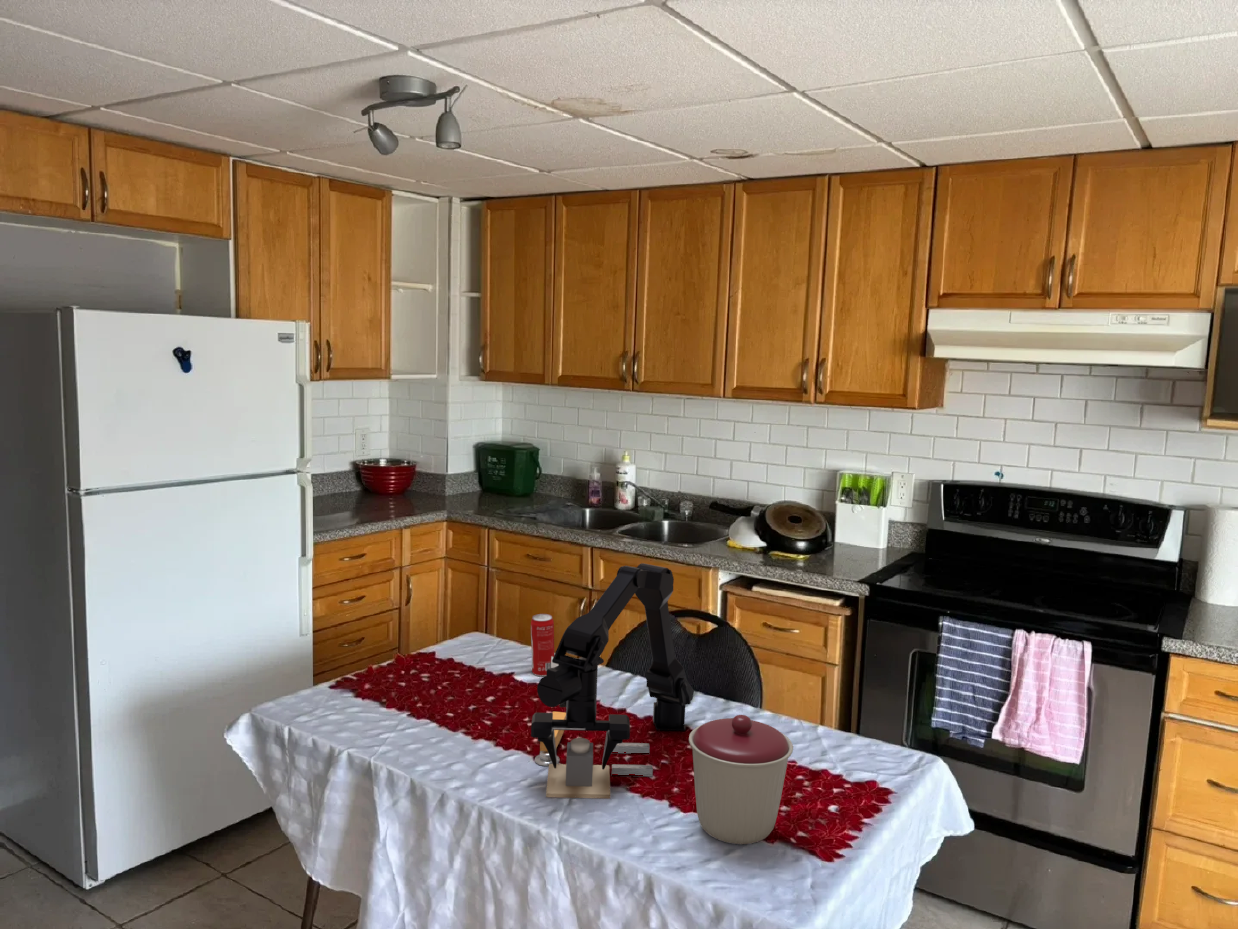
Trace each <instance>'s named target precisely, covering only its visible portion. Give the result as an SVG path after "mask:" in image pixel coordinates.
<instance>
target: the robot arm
mask: <svg viewBox="0 0 1238 929" xmlns="http://www.w3.org/2000/svg"><path fill="white" fill-rule="evenodd" d="M674 581H675V580H674V575H673V571H672V570H671V569H670V568H668V567H664V566H659V565H653V564H650V563H643V562H641V563H640V564H638V565H637V566H629V565H622V566H620V567H619V568H618V570H617V572H616V577H614V579H613V581H612V582H611V583H610V584H609V586H608V587H607V588H606V589H605V591H604V592H603V594H602V595H601V596H600V598H599V599H598V601H596V603H595V604H594V605H593V606H592V608H591V609H590V610H589V611H588V613H585V614H583V615H581V616H579V617H576V618H575V619H574V621H572V622H571V624H569V625H568V626H567V628H565V630H564V632H563V634H562V637H561V639H560V641H559V643H558V645H557V648H556V650H555V652H554V657H553V660H552V662H553V663H556V664H559V666H556V667H554V668H550V669H547V676H542V677H541V678H540V680H539V681H538V683H537V685H536V688H537V689H536V690H537V695H538V698H539V700H540V701H541V703H542V704H543V705H545V706H547V707H548V708H555V707H557V706H558V707H559V708H565V713H566V720H559V719H553V712H535V713H534V714H532V719H531V723H530V737H531V738H533V739H535V738H536V739H537V741H538V742H539V743H540V742H543V743H544V745H545V747H546V749H547V751H548V753H549V755H550V758H551V761H552V763H553V766H554V768H556V766H557V756H558V755H557V748H556V745H555V733H554V730H564V731H585V732H586V731H587V732H606V733H605V734H606V735H605V740H604V748H603V752H602V753H603V754H602V761H601V762H602V763H601V765H602V769H605V766H606V765H607V764H608V761H609V760H610V757H611V755H612V754H613V753H612V752H613V750H614V748H615V747H616V745H617V744H621V743H624V742H623V740H625V741H627V740H629V739H630V738H631V737H630V736H631V724H630V722H631V721H630V717H629V716H628V715H627V714H618V713H617V714H615V713H613V714H612V713H611V714H608V720H600V719H599V720H598V719H597V702H598V701H597V697H598V696H597V695H598V694H597V693H598V666H600V665H602V664H604V663H605V660H604V658H602V657H601V655H602V654H603V652H604V651H605V648H606V647H607V644H608V642H609V641H610V640H609V632H610V629H611V627H612V625H613V624H614V623H615V622H616V620H617V619H618V617H619V616H620V614H621V613H622V612H623V610H624V609H625V607H626V606H627V604H629V602H630V601H631V599H632V598H633V597H634V595H635V597H637V599H638V600H639V601H640V602H641V604H642V605H643V607H644V612H645V618H646V626H647V633H648V639H649V645H650V651H651V658H652V659H651V660H652V662H651V664H650V666H649V668H648V669H647V671H646V672H645V674H644V677H645V679H646V686H645V687H646V688H648V693H649V697H650V698H655V699H656V700H655V701H654V702H653V705H652V706H653V709H652V710H653V711H652V722H653V725H655V729H656V730H657V731H675V730H676V731H679V730H681V731H683V732H685V731H686V724H685V722H686V721H685V720H686V719H685V718H686V705H690V704H692V702H691V701H693V700H694V693H695V690H694V689H693V687H692V686H691V684H690V683H689V681H688V680H687V675H686V672H685V667H684V666H683V665H682V664H681V662H680V661H679V660H678V659H677V657H676V654H675V647H674V645H675V644H674V638H673V633H672V626H671V618H670V617H671V616H670V609H669V599H670V598H671V596H672V594H673V592H674V583H675V582H674ZM566 654H569V655H572V656H569V655H566ZM573 656H576V657H579V658H576V657H573ZM681 731H680V732H681ZM556 755H557V756H556Z"/></svg>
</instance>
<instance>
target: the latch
mask: <svg viewBox="0 0 1238 929" xmlns="http://www.w3.org/2000/svg"><path fill="white" fill-rule="evenodd" d="M552 713H553V719H559V720H566V712H565V711H564V712H562V711H552ZM564 732H565V730H554V733H555V745H556V749H557V747H558V745H559V744H560V742H561V739H562V736H563V735H564ZM540 751H547V749H546V747H545V745H544V743H543V742H539V752H540Z"/></svg>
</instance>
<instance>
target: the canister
mask: <svg viewBox="0 0 1238 929" xmlns="http://www.w3.org/2000/svg"><path fill="white" fill-rule="evenodd" d="M688 736H689V737H688V743H689V745H690V747H691V749H692V760H693V761H692V762H693V763H692V764H693V778H694V794H695V803H696V814H697V818H698V821H699V824H700V826H701V828H702V829H703V830H704V832H706V833H707V834H708V836H711V837H712V838H715V839H716V840H719V841H721V842H725V843H729V844H731V845H732V844H733V845H749V844H750V845H751V844H753V843H754V844H755V843H758V842H761V841H762V840H765V839H766V838H767V837H768V836H770V834H771V833H772V831H773V830H774V828H775V825H776V822H777V817H778V813H779V810H780V809H779V808H780V805H781V799H782V796H783V795H782V793H783V788H784V782H785V777H786V772H787V768H788V767H787V766H788V762H789V761H788V760H789V758H790V757H791V755H792V754H793V751H794V746H793V745H794V744H793V742H792V741H791V740H790V738H789V737H788V736H787V735H785V734H784V733H783V732H781V731H779V729H776V728H775V727H773V726H772V725H769V724H767V723H764V722H760V721H757V720H752V719H751V718H750V717H749V716H747V715H745V714H736V715H735V716H734V717H732V718H731V717H730V718H729V717H728V718H720V719H713V720H710V721H707V722H705V723H702V724H700V725H698V726H697V727H695V728H694V729H692V731H691V732H690V733H689V735H688Z"/></svg>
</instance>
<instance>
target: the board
mask: <svg viewBox="0 0 1238 929" xmlns="http://www.w3.org/2000/svg"><path fill="white" fill-rule="evenodd" d="M610 773H611V772H610V765H607V764H606V766H605V769H602V764H593V773H592V787H591V786H566V763H564V764H563V763H558V764H557V766H556V768H554V766H553V764H549V766H548V771H547V781H546V789H545V790H546V792H545V797H546V798H565V799H566V798H567V799H569V798H570V799H603V800H604V799H607V800H611V776H610Z"/></svg>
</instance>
